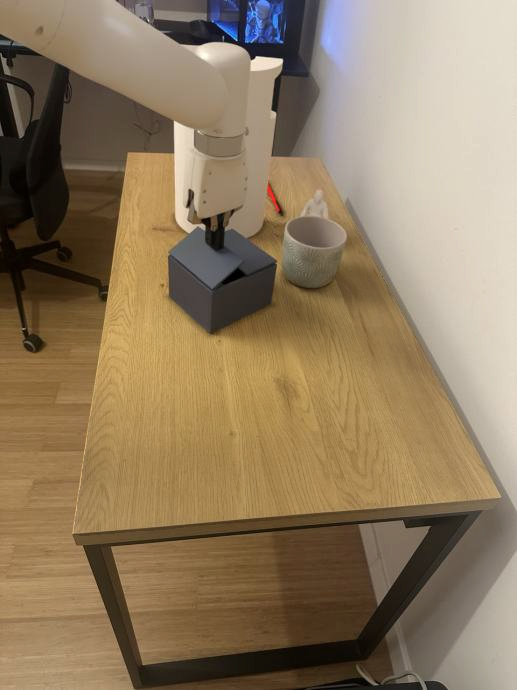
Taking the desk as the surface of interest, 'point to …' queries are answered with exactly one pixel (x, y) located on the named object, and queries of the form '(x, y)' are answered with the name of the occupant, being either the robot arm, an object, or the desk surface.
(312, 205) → the figurine
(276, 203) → the pen
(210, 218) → the robot arm
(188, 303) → the carton
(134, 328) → the desk surface
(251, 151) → the white rounded tall casing
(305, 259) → the planter
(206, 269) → the flap
